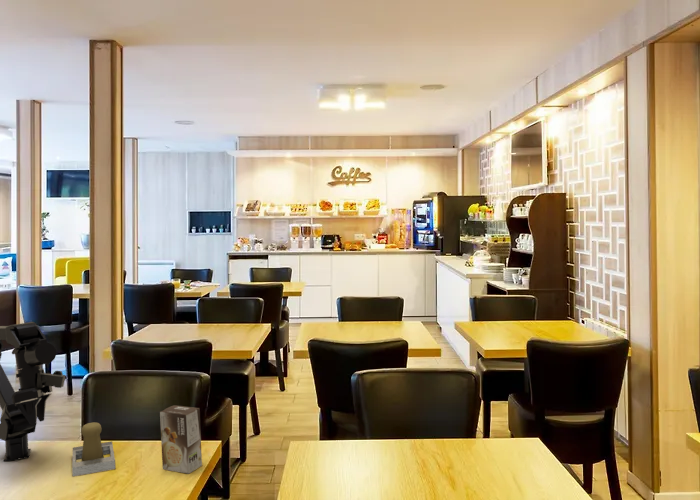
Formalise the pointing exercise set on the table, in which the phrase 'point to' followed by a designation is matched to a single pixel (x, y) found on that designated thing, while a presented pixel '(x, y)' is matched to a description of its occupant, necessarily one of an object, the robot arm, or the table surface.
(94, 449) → the cork
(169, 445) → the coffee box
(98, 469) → the silver metal frame
